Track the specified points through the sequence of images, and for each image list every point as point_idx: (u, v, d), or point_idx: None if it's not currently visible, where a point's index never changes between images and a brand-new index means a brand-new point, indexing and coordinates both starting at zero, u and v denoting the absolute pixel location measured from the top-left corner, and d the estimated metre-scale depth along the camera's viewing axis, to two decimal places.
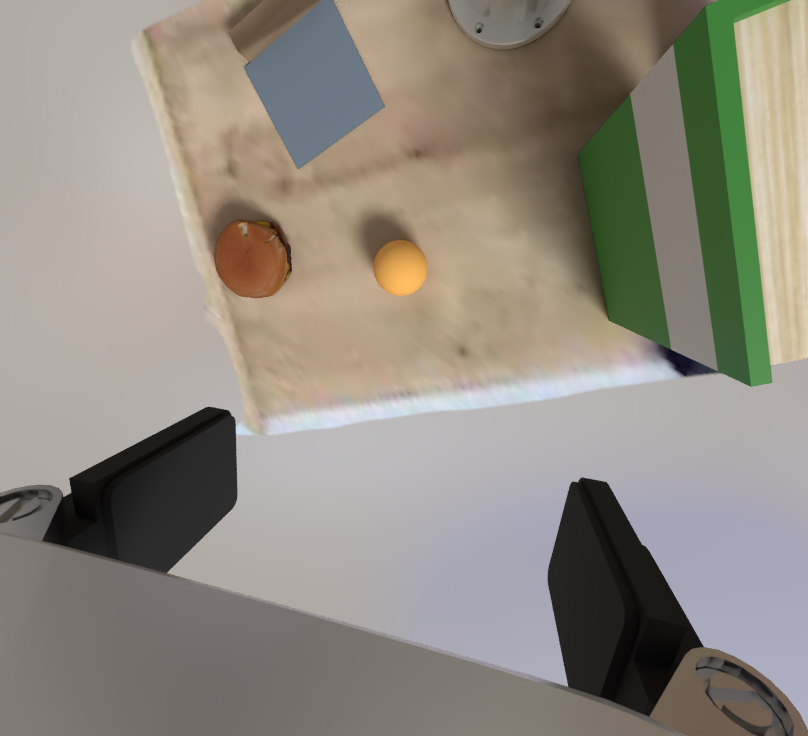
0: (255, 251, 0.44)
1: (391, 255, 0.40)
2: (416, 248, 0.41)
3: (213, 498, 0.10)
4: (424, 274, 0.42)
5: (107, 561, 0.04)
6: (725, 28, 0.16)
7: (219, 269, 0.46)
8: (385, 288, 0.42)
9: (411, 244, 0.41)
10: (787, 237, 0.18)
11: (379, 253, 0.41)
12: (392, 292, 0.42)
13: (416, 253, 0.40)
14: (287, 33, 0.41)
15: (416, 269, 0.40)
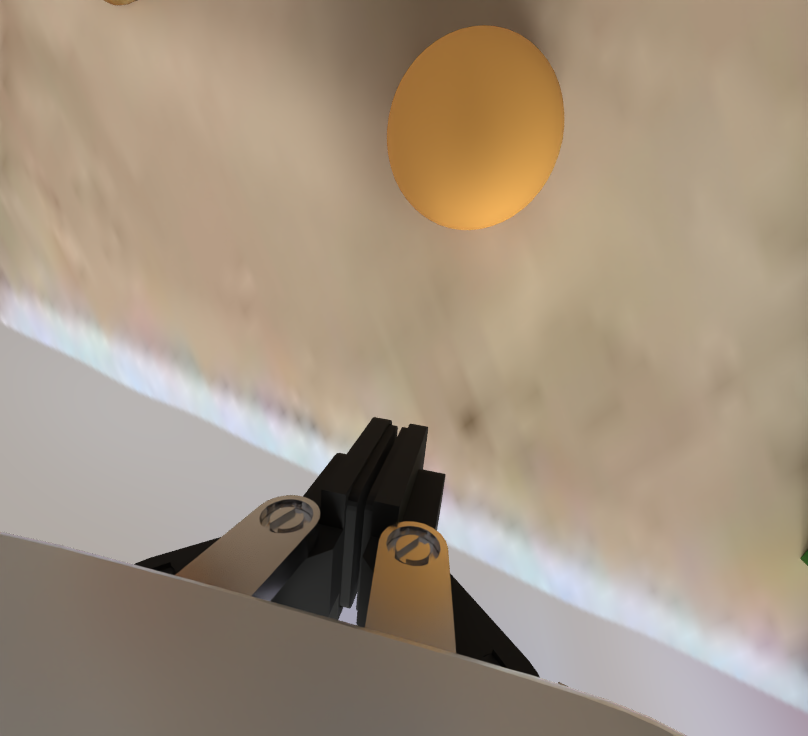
0: None
1: (485, 55, 0.11)
2: (562, 103, 0.12)
3: None
4: (527, 200, 0.13)
5: (107, 561, 0.04)
6: None
7: None
8: (397, 164, 0.13)
9: (556, 79, 0.12)
10: None
11: (447, 35, 0.11)
12: (409, 190, 0.13)
13: (555, 115, 0.11)
14: None
15: (523, 166, 0.12)
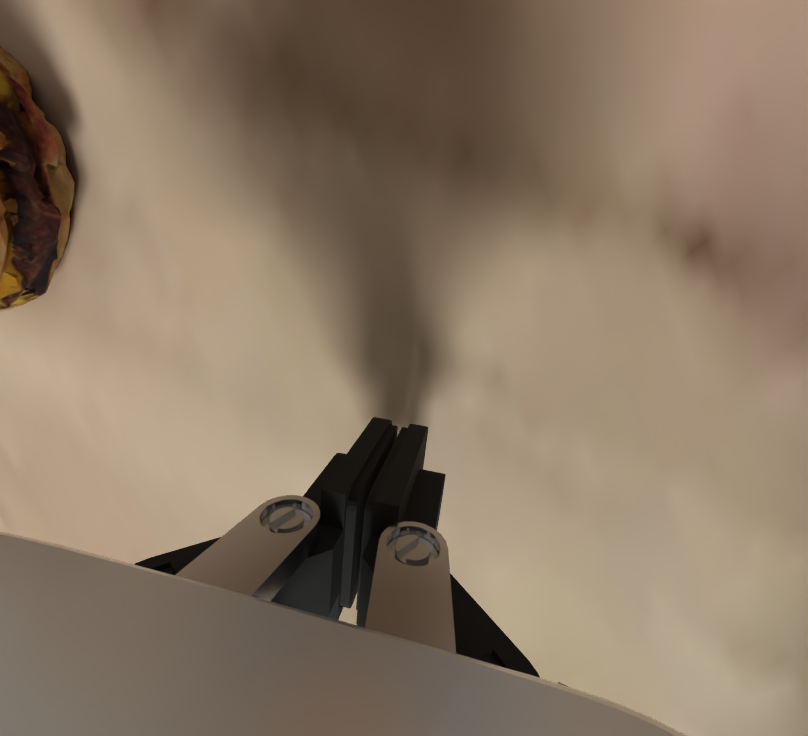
0: None
1: None
2: None
3: None
4: None
5: (107, 561, 0.04)
6: None
7: None
8: None
9: None
10: None
11: None
12: None
13: None
14: None
15: None
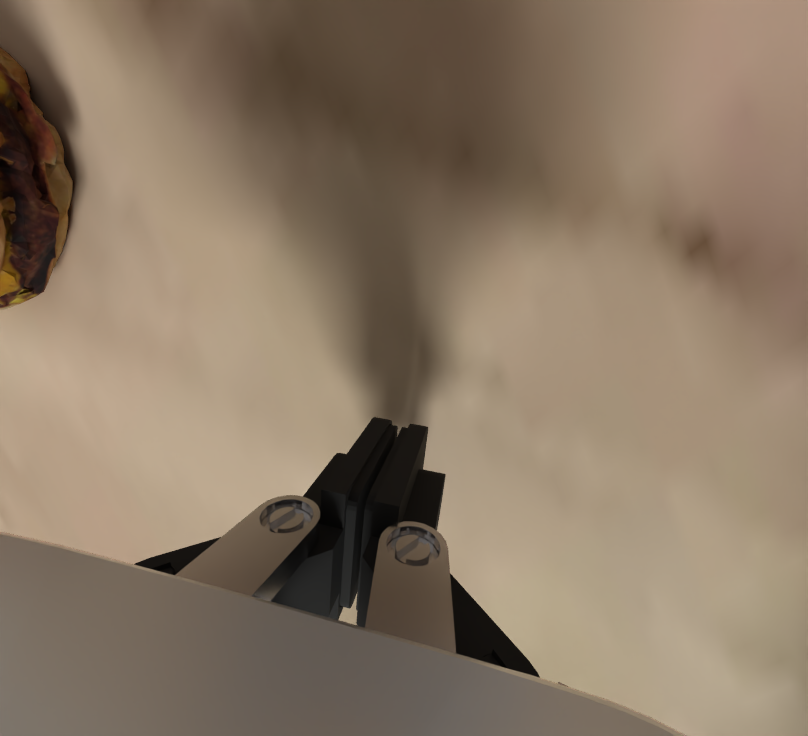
0: None
1: None
2: None
3: None
4: None
5: (107, 561, 0.04)
6: None
7: None
8: None
9: None
10: None
11: None
12: None
13: None
14: None
15: None
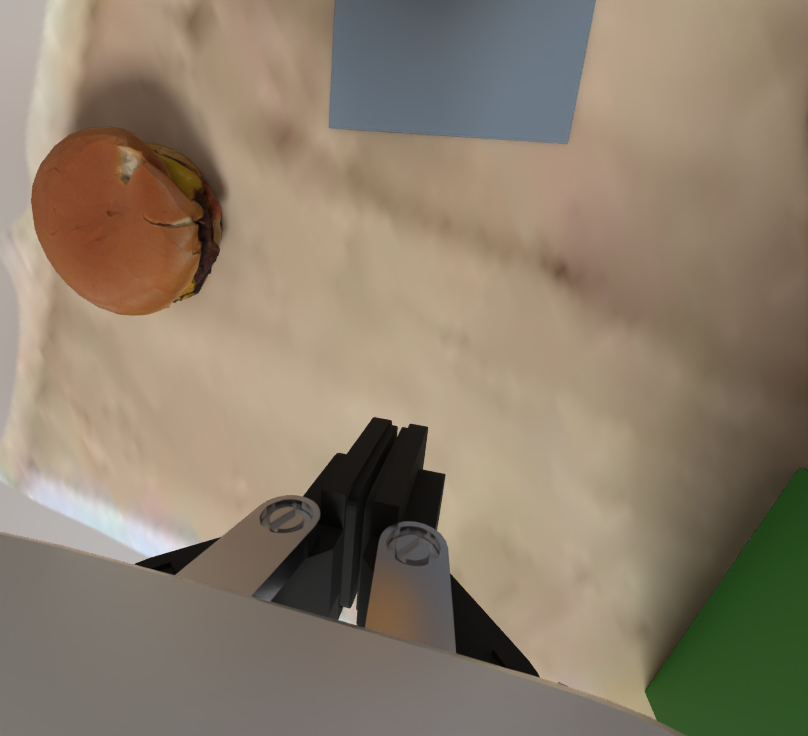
0: (127, 226, 0.19)
1: None
2: None
3: None
4: None
5: (107, 561, 0.04)
6: None
7: (34, 202, 0.20)
8: None
9: None
10: None
11: None
12: None
13: None
14: None
15: None
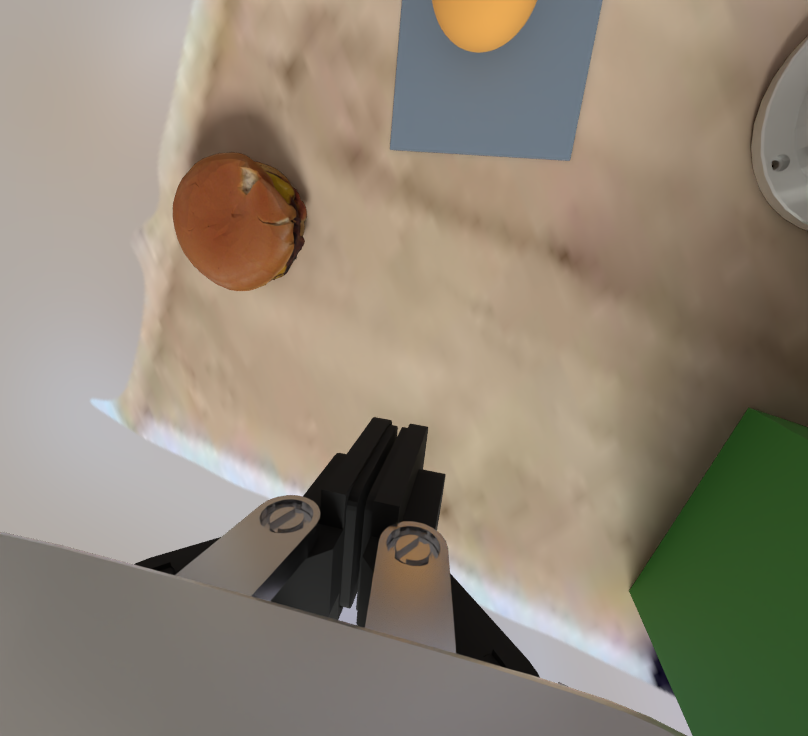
0: (246, 225, 0.26)
1: None
2: None
3: None
4: None
5: (107, 561, 0.04)
6: None
7: (177, 207, 0.27)
8: None
9: None
10: None
11: None
12: None
13: None
14: None
15: None
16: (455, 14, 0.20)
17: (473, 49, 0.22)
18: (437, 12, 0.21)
